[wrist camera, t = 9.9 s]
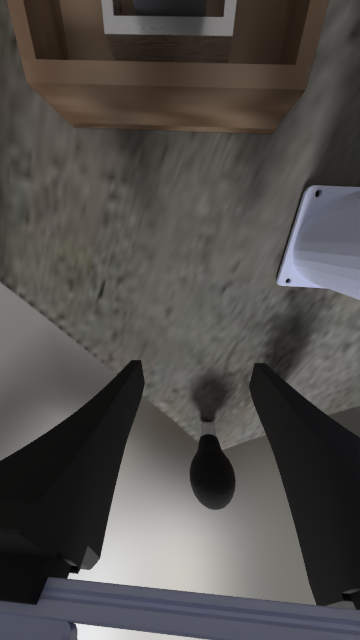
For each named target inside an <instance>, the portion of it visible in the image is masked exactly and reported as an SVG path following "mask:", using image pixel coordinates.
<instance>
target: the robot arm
mask: <svg viewBox="0 0 360 640" xmlns="http://www.w3.org/2000/svg"><path fill="white" fill-rule="evenodd" d="M316 191H318V192H319V195H318V197H316V196H315V193H316ZM288 278H289V281H288V282H287V283H286V279H288ZM276 282H277V284H278V285H281V286H296V287H313V288H328V289H330V290H333V291H336V292H339V293H342V294H344V295H347V296H350V297H353V298H355V299H358V300H360V187H344V186H320V185H313V186H310V187H308V188H307V189H306V190H305V191H304V193H303V196H302V199H301V203H300V206H299V209H298V212H297V215H296V219H295V222H294V225H293V228H292V231H291V235H290V238H289V241H288V244H287V247H286V251H285V254H284V257H283V260H282V263H281V267H280V270H279V273H278V276H277V279H276ZM144 384H145V383H144V376H143V370H142V364H141V360H131V361H130V362H129V363H128V364H127V365H126V366H125V367H124V369H123V370H122V371H121V372H120V373H119V374H118V375H117V376H116V377H115V378H114V379H113V380H112V381H111V382H110V383H109V384H108V385H107V386H106V387H104V388H103V389H102V390H101V391H100V392H99V393H98V394H97V395H96V396H94V397H93V398H92V399H91V400H90V401H89V402H87V403H86V404H85V405H84V406H83V407H81V408H80V409H79V410H78V411H76V412H75V413H74V414H72V415H71V416H70V417H68V418H67V419H66V420H64V421H63V422H61V423H60V424H58V425H57V426H55V427H54V428H53V429H51V430H50V431H48V432H47V433H45V434H44V435H42V436H41V437H39V438H38V439H36V440H34V441H33V442H31V443H30V444H28V445H26V446H25V447H23V448H22V449H20V450H18V451H17V452H15V453H13V454H12V455H10V456H8V457H6V458H5V459H3V460H1V461H0V640H77V628H76V625H75V624H74V623H79V624H87V625H95V626H103V627H112V628H120V629H128V630H136V631H144V632H152V633H160V634H168V635H177V636H185V637H193V638H201V639H210V640H360V437H358V436H356V435H355V434H353V433H352V432H350V431H349V430H347V429H346V428H344V427H343V426H342V425H340V424H339V423H337V422H336V421H334V420H333V419H332V418H330V417H329V416H328V415H326V414H325V413H323V412H322V411H321V410H319V409H318V408H317V407H316V406H314V405H313V404H312V403H310V402H309V401H308V400H307V399H305V398H304V397H303V396H302V395H301V394H299V393H298V392H297V391H296V390H295V389H293V388H292V387H291V386H290V385H289V384H288V383H286V382H285V381H284V380H283V379H282V378H281V377H280V376H279V375H277V374H276V373H275V372H274V371H273V370H272V369H271V368H270V367H268V366H267V365H266V364H265V363H255V364H254V368H253V372H252V377H251V381H250V385H249V388H250V392H251V396H252V399H253V403H254V406H255V408H256V411H257V413H258V415H259V418H260V420H261V423H262V425H263V428H264V430H265V433H266V435H267V437H268V440H269V442H270V444H271V448H272V450H273V453H274V456H275V459H276V462H277V465H278V469H279V472H280V475H281V478H282V482H283V485H284V488H285V492H286V495H287V499H288V502H289V506H290V509H291V513H292V516H293V520H294V524H295V528H296V531H297V535H298V539H299V543H300V547H301V551H302V555H303V559H304V563H305V567H306V571H307V576H308V580H309V584H310V587H311V590H312V593H313V596H314V598H315V601H316V604H317V605H307V604H299V603H289V602H279V601H270V600H261V599H251V598H242V597H232V596H222V595H214V594H205V593H195V592H186V591H177V590H167V589H158V588H148V587H139V586H129V585H119V584H111V583H101V582H92V581H83V580H72V579H67V577H68V575H69V573H76V574H78V572H79V570H80V569H87V570H90V569H91V568H92V567H93V566H94V565H95V564H96V563H97V561H98V560H99V559H100V556H101V550H102V545H103V541H104V536H105V530H106V526H107V521H108V516H109V512H110V507H111V503H112V498H113V494H114V489H115V485H116V481H117V477H118V473H119V468H120V464H121V461H122V457H123V453H124V449H125V445H126V442H127V438H128V435H129V432H130V430H131V427H132V424H133V421H134V418H135V415H136V412H137V410H138V407H139V403H140V400H141V397H142V393H143V388H144Z"/></svg>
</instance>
